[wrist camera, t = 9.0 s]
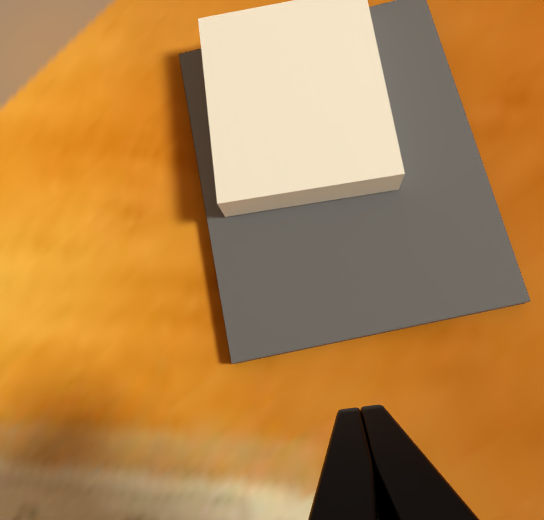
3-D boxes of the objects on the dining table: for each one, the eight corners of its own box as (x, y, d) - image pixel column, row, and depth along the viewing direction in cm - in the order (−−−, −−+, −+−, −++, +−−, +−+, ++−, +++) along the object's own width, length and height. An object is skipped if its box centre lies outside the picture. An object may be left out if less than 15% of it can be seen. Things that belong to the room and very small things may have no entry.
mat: (524, 303, 19) (530, 301, 18) (234, 363, 20) (231, 363, 19) (421, 3, 23) (423, -7, 22) (182, 62, 24) (178, 54, 23)
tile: (404, 173, 19) (364, -14, 21) (217, 203, 19) (198, 18, 21) (398, 190, 20) (361, 15, 22) (225, 217, 21) (207, 44, 23)
